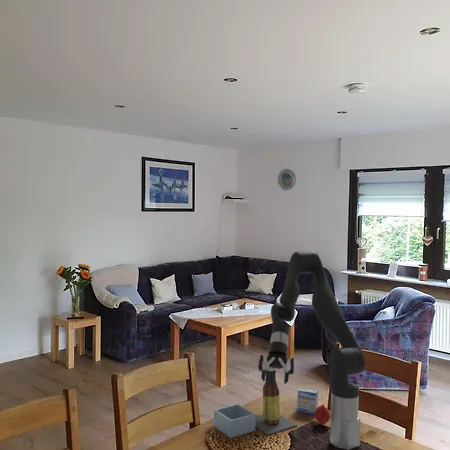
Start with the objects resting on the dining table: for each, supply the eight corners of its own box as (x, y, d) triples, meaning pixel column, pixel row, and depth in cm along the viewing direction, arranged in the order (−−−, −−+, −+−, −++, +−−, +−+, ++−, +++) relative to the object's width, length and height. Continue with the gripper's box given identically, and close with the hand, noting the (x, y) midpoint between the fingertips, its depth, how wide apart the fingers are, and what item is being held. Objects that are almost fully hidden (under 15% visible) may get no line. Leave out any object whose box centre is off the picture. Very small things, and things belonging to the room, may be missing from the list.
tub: (255, 430, 171) (255, 414, 171) (230, 437, 165) (231, 420, 165) (237, 419, 180) (238, 403, 180) (213, 425, 174) (214, 409, 174)
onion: (311, 424, 177) (311, 403, 177) (319, 420, 181) (320, 399, 181) (324, 429, 173) (325, 408, 173) (332, 425, 177) (333, 404, 177)
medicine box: (296, 412, 188) (297, 390, 188) (298, 407, 192) (298, 387, 192) (316, 415, 186) (317, 393, 186) (317, 410, 190) (318, 389, 190)
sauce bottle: (283, 421, 177) (283, 369, 177) (273, 426, 173) (273, 373, 173) (269, 416, 182) (269, 365, 182) (259, 421, 177) (259, 369, 177)
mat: (297, 426, 175) (297, 424, 175) (268, 435, 167) (268, 433, 167) (272, 412, 187) (272, 411, 187) (244, 420, 179) (244, 419, 179)
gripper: (261, 339, 196) (255, 375, 185) (295, 342, 192) (292, 379, 181) (262, 348, 201) (257, 384, 190) (296, 351, 198) (292, 388, 187)
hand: (274, 381), depth 186 cm, fingers open, 8 cm apart
